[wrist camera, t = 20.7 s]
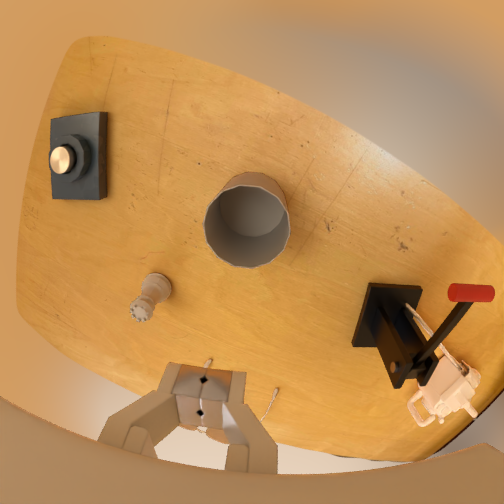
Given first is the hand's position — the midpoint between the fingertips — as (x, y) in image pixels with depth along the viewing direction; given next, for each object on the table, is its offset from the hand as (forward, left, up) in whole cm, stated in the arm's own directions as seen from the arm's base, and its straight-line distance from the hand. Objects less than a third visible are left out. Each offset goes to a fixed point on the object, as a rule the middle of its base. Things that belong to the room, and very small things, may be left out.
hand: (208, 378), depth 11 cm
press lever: (+8, +22, -16) cm, 28 cm away
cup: (0, 0, -29) cm, 29 cm away
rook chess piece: (+13, -13, -29) cm, 35 cm away
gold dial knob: (-6, -25, -25) cm, 36 cm away
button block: (-6, -25, -29) cm, 39 cm away
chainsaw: (+26, +35, -29) cm, 52 cm away
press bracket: (+15, +22, -29) cm, 39 cm away
